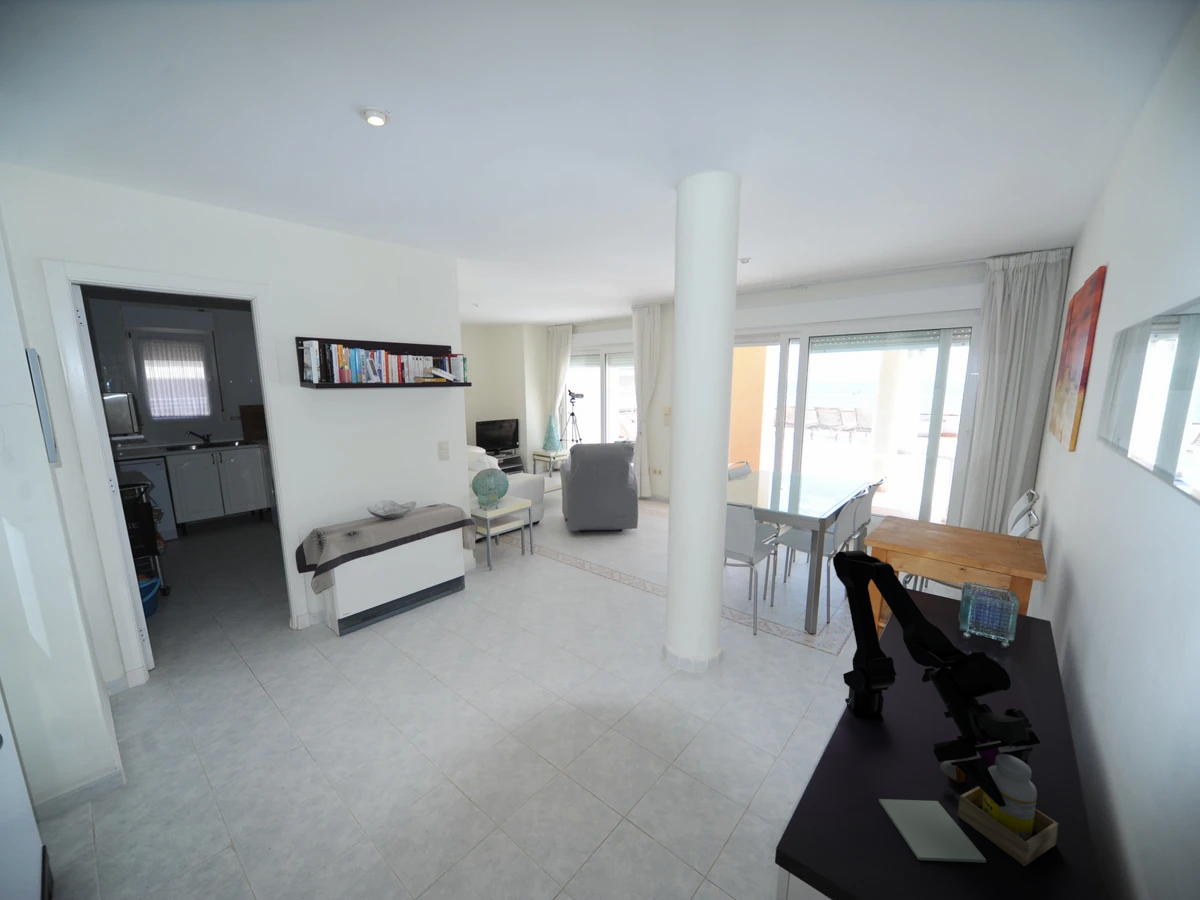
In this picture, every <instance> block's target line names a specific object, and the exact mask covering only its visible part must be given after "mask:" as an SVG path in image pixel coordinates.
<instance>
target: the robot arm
mask: <svg viewBox="0 0 1200 900" xmlns="http://www.w3.org/2000/svg"><path fill="white" fill-rule="evenodd" d="M832 564H833V568H834V571H835V574H836V576H837V579H838V580H839V581H840V582H841V584H842V585H843V586H844V587H845V591H846V596H847V602H848V607H849V611H850V618H851V622H852V628H853V633H854V638H855V643H856V649H855V652H854V655H853V657H852V670H850V671H848V672H845V673H843V675H842V676H843V680H844V681H843V682H844V684H845V685H846V686H848V698H845V699H844V700H845V701H844V702H845V703H846V704H847V705H848V703H849V701H850V699H851V698H852V699H851V701H850V704H849V706H850V708H849V710H851V712H852V713H853V715H854V717H856V718H858V719H859V718H860V719H861V718H862V719H868V720H869V719H870V720H881V721H883V720H884V719H885V718H884V715H883V714H882V713H883V709H884V698H885V697H884V696H883V691H888V690H889V689H890V687H892V686H893V685H894V684H895V682H896V676H898V675H897V672H896V670H895V665H894V659H893V657H891V656H887V655H886V654H885V652H884V651H883V650H882V648H881V644H880V641H879V640H880V639H879V636H878V630H877V626H876V621H875V615H874V611H873V605H872V600H871V595H870V594H871V593H870V590H869V585H870V583H871V581H872V582H873V584H874V585H875V587H876V588H877V590H878V591H879V593H880V595H881V596H882V598H883V600H884V601H885V602H886V604H887V606H888V608H889V609H890V611H891V612H892V613H893V616H894V617H895V619H896V620H897V621H898V623H899V625H900V627H901V629H902V640H903V642H904V645H905V647H906V649H907V651H908V653H909V655H910V656H911V658H912V660H913V661H914V663H916V664H918V665H921V666H923V667H928V668H924V669H923V670H924V672H923V675H922V679H921V681H922V683H925V684H926V683H932V684H933V686H934V688H935V690H936V692H937V693H938V696H939V697H940V699H941V700H942V703H943V704H944V706H945V709H946V710H947V711H944V712H943V715H944V717H945V718H946V719H950V718H951V720H952V722H953V723H954V725H955V727H956V728H957V730H958V732H959V734H960V735H957V736H956V739H953V740H947V741H942V742H941V741H940V742H937V743H933V745H932V751H933V753H934V755H935V758H936V759H937V761H938V762H937V763H943V762H944V761H950V760H955V762H950V763H951V765H952V766H957V767H958V768H959V769H960V770H961V771H962V772H964V773H965V774H966V775H967V776H968V777H969V778H971V781H973V782H974V784H976V786H977V787H978V786H979V787H980V788H981V789H982V790H983V791H984V792H985V793H986V794H987V795H988V796H989V797H990V798H991V799H992V800H993V801H994V802H995V803H996V804H997V805H998V806H1000V807H1004V806H1006V805H1005V802H1004V800H1003V798H1002V795H1001V793H1000V791H999V789H998V788H997V786H996V784H995V782H994V780H993V778H992V776H991V774H990V772H989V770H988V768H989V767H988V757H983V758H981V756H980V754H979V753H978V752H979V751H984V750H989V749H994V748H998V750H999V751H1000V753H995V755H998V754H1006V755H1010V756H1013V757H1016V758H1018V759H1020V760H1021V761H1023V762H1024V763H1026V764H1027V765H1028V766H1029V762H1028V759H1029V757H1030V754H1031V752H1033V751H1034V748H1033V747H1028V748H1026V746H1033V745H1034V746H1035V745H1038V744H1041V741H1040V740H1039V738H1038V736H1037V735H1036V733H1035V731H1033V730H1032V728H1033V725H1032V723H1030V721H1029V719H1028V717H1027V716H1026V714H1025V713H1024V711H1023V710H1022V709H1020V708H1015V707H1011V708H1006V709H1005V712H1002V713H998V712H997V713H996V712H994V711H993V710H992V708H991V707H990V706H989V705H988V704H987V703H983V704H982V703H981V702H980V701H979V699H978V698H982V697H986V696H990V695H993V694H997V693H1001V692H1006V691H1008V690H1009V689H1010V688H1011V685H1012V682H1011V678H1010V675H1009V673H1008V671H1007V670H1006V669H1005V668H1004V667H1003V666H1001V665H1000V664H999V662H997V661H996V660H994V659H992V658H990V657H988V656H987V654H986V652H985V651H983V650H979V651H974V652H970V653H969V654H968V653H966V652H964V651H963V650H962V649H960V648H959V647H958V646H956V645H954V644H953V642H952V641H951V640H950V639H949V638H948V637H947V636H946V634H945V633H944V632H943V631H942V630H941V629H940V628H939V627H937V626H936V625H934V623H932V622H930V621H929V620H927V619H928V618H927V619H926V617H925V616H924V614H923V613H922V612H921V610H920V609H919V607H918V606H917V604H916V603H915V601H914V599H913V598H912V597H911V596H910V594H909V592H908V591H907V589H906V588H905V587H904V585H903V584H902V583H901V580H899V578H898V576H897V575H896V573H895V569H894V567H893V565H891V564H890V563H889V562H885V561H883V560H881V559H879V557H875V556H872V555H869V554H867V553H866V551H863V550H860V549H859V550H843V551H837V552H836V553H835V555H834V556H833V558H832ZM849 706H848V707H849ZM987 740H990V741H991V742H987ZM977 742H980V744H977ZM1030 781H1031V782H1032V783H1033V781H1032V778H1031V779H1030Z"/></svg>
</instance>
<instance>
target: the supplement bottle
mask: <svg viewBox="0 0 1200 900" xmlns="http://www.w3.org/2000/svg"><path fill="white" fill-rule="evenodd" d="M995 764H996V765H993V766H990V767H988V770H989V772H990V774H991V776H992V778H993V780H994V782H995V784H996V786H997V788H998V789H999V791H1000V793H1001V795H1002V798H1003V800H1004V802H1005V805H1006V806H1004V807H1000V806H998V805H997V804H996V803H995V802H994V801H993V800H992V799H991V798H990V797H989V796H988V795H987V794H986V793H985V792H984V797H983V805H982V806H981V810H983V811H984V812H985V813H987V814H988V815H990V816H991V817H992V818H994V819H995V820H997V821H998V822H999V823H1001V824H1002V825H1004V826H1005V827H1006V828H1008V829H1009V830H1011V831H1012V832H1013V833H1015V834H1016V835H1018V836H1019V837H1020V838H1022V839H1023V840H1025V841H1027V840H1029V839H1030V838H1032V837H1033V823H1034V815H1035V809H1036V806H1037V800H1038V799H1037V798H1038V791H1037V788H1036V786H1035V784H1034V783H1033V781H1032V782H1031V781H1030V779H1031V780H1032V775H1033V774H1032V773H1033V772H1032V769H1031V767H1030V766H1029V764H1028V765H1027V764H1026V763H1024V762H1023V761H1021V760H1020V759H1018V758H1016V757H1013V756H1010V755H1006V754H998V755H996V759H995Z"/></svg>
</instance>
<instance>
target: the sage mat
mask: <svg viewBox="0 0 1200 900" xmlns="http://www.w3.org/2000/svg"><path fill="white" fill-rule="evenodd" d="M878 803H879V805H880V806H881V807H882V808H883V809H884V811H885V813H886V814H887V816H888V817H889V819H890V820H891V821H892V823H893V824H894V826H895V828H896V829H897V830H898V832H899V834H900V835H901V837H902V838H903V839H904V840H905V842H906V843H907V845H908V846H909V848H910V849H911V851H912V852H913V854H914V855H915V856H916V859H918V861H936V862H937V861H939V862H959V863H960V862H963V863H964V862H965V863H986V862H987V859H986V858H985V857H984V855H983V854H982V853H981V852H980V851H979V849H978V848H977V847H976V846H975V845H974V843H973V841H971V839H970V838H969V837H968V836H967V835H966V834H965V832H964V831H963V830H962V829H961V827H960V826H959V825H958V823H956V822H955V820H954V819H953V818H952V817H951V816H950V814H949V813H948V812H947V811H946V810H945V808H944V807H943V806H942V805H941V803H940V802H939V801H938V800H917V799H913V800H912V799H890V798H887V799H885V798H879V799H878Z"/></svg>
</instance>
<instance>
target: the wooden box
mask: <svg viewBox="0 0 1200 900" xmlns="http://www.w3.org/2000/svg"><path fill="white" fill-rule="evenodd" d="M983 797H984V791H983V790H982V789H981V788H980V787H979V786H978V785H977V786H975V788H971V789H970V790H969V791H967V792H964V793H963V794H961V795H960V796H959V802H958V811H957V816H958V818H960V819H961V820H962V821H963V822H965V823H967V824H968V825H969V826H970V827H972V828H973V829H974V830H975V831H977V832H979V833H980V834H981V835H983V836H984V837H985V838H986V839H988V840H989V841H990V842H992V843H993V844H995V846H997V847H998V848H1000V850H1002V851H1004V852H1005V853H1006V854H1007V855H1009V856H1010V857H1012V858H1013V859H1014V860H1015V861H1017V862H1018V863H1019V864H1021V865H1022V866H1023V867H1026V866H1027V865H1029V864H1030V863H1032V862H1033V861H1035V860H1036V859H1037V858H1039V857H1040V856H1042V855H1043V854H1044V853H1046V852H1048V850H1050V849H1052V848H1053V847H1054V846H1056V845H1057V839H1058V833H1059V832H1058V831H1059V823H1058V822H1057V821H1055V820H1054V819H1052V818H1051V817H1050V816H1048V815H1046V814H1045V813H1043V812H1042V811H1040V810H1038V809H1037V808H1035V815H1034V823H1033V830H1032V832H1034V833H1036V834H1035V835H1032V837H1031V838H1030V839H1029V840H1027V841H1025V840H1023V839H1022V838H1020V837H1019V836H1018V835H1016V834H1015V833H1013V832H1012V831H1011V830H1009V829H1008V828H1006V827H1005V826H1004V825H1002V824H1001V823H999V822H998V821H997V820H995V819H994V818H992V817H991V816H990V815H988V814H987V813H985V812H984V811H983V810H982V808H980V807H982V805H983Z"/></svg>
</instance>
